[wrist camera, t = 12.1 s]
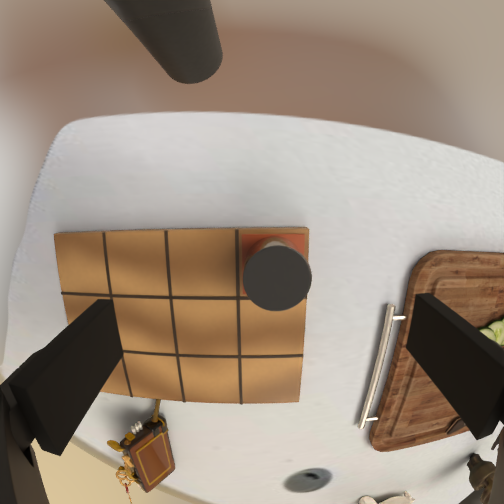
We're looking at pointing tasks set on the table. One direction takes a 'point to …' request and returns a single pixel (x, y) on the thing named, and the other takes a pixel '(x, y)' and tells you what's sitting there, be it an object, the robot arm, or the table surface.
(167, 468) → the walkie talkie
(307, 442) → the table surface
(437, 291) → the chopping board
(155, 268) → the game board
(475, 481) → the light bulb
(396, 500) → the white lumpy sculpture
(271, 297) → the dark grey short cylinder
